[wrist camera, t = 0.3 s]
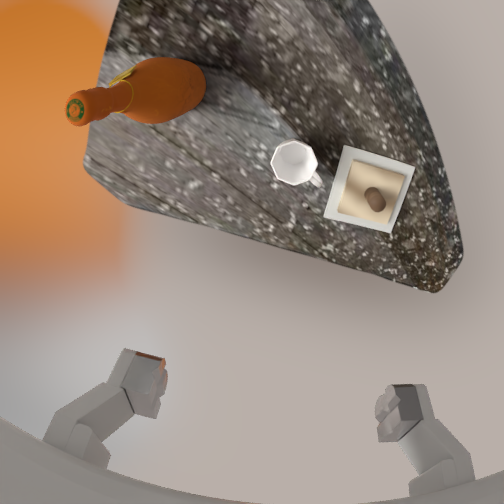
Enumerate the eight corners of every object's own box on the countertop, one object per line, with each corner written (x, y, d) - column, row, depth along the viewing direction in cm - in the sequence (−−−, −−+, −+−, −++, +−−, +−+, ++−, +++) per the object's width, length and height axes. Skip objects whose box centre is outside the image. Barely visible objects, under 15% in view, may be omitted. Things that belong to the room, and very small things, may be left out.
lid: (352, 159, 50) (359, 168, 45) (402, 174, 50) (413, 185, 45) (337, 209, 55) (341, 224, 50) (385, 221, 55) (393, 236, 51)
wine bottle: (216, 66, 44) (134, 61, 19) (199, 119, 49) (112, 174, 24) (162, 54, 43) (44, 52, 18) (148, 106, 48) (32, 151, 23)
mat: (343, 144, 49) (344, 145, 49) (414, 166, 49) (415, 167, 49) (323, 215, 57) (323, 217, 56) (389, 231, 57) (390, 233, 56)
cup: (293, 122, 48) (294, 130, 41) (333, 163, 51) (341, 178, 44) (263, 150, 51) (260, 163, 45) (304, 189, 54) (307, 207, 48)
